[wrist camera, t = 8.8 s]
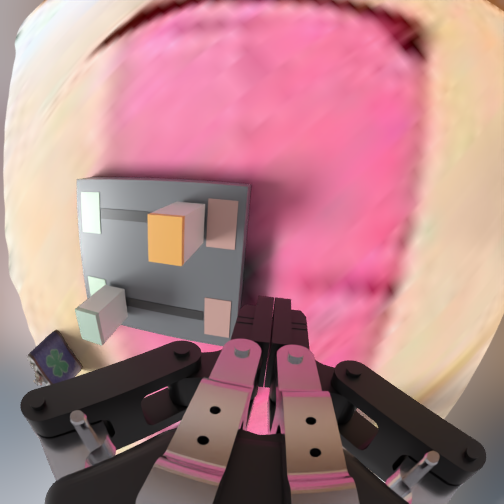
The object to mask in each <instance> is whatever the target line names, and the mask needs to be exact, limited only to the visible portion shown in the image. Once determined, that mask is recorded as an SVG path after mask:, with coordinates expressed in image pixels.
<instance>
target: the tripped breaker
mask: <svg viewBox="0 0 504 504" xmlns="http://www.w3.org/2000/svg"><path fill="white" fill-rule="evenodd" d="M204 217H205V204H200V203H188V202H175V203H172V204H170V205H168V206H165V207H163V208H161V209H159V210H156V211H154V212H152V213H150V214H148V259H149V262H156V263H162V264H169V265H176V266H182V265H183V264H184V263H185V262H186V261H187V260H188V259H189V258H190V257H191V256H192V254H193V253H194V252H195V251H196V250H197V249H198V248H199V247H200V246H201V245H202V244H203V240H204Z"/></svg>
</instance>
